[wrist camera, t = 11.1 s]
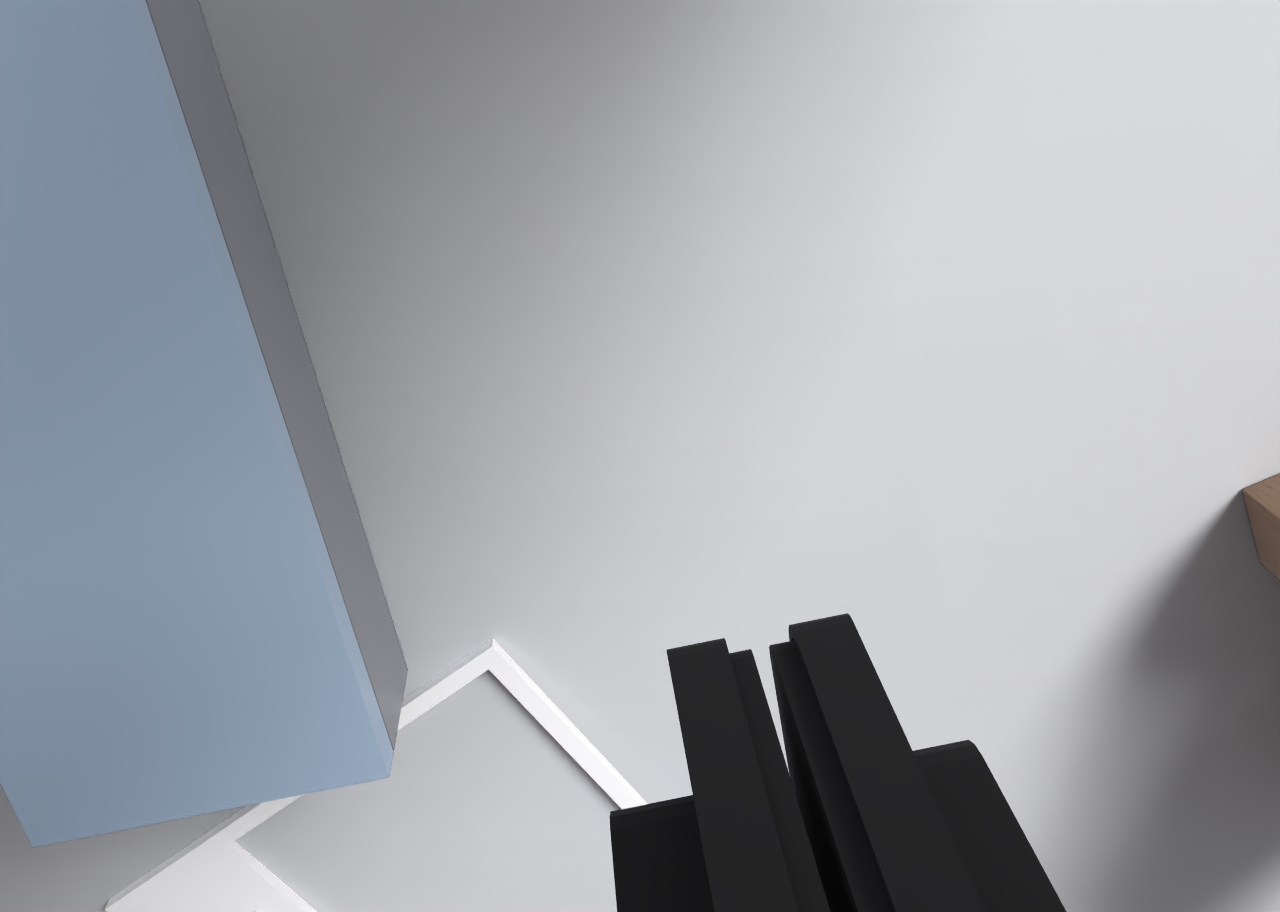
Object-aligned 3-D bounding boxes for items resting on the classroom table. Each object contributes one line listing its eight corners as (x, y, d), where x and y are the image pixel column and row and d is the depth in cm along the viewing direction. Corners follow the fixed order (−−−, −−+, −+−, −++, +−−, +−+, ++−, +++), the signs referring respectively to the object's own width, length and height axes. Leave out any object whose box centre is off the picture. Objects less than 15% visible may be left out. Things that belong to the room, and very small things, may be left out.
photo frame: (102, 913, 44) (492, 649, 41) (112, 891, 45) (493, 632, 42) (369, 1122, 50) (731, 902, 47) (372, 1098, 51) (726, 881, 48)
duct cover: (-403, -69, 28) (-477, -69, 26) (102, -171, 28) (69, -178, 26) (29, 805, 39) (1, 854, 37) (397, 732, 39) (389, 777, 37)
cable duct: (-271, -77, 31) (-392, -77, 27) (147, -161, 31) (89, -174, 27) (95, 732, 42) (47, 820, 38) (407, 669, 42) (394, 750, 38)
